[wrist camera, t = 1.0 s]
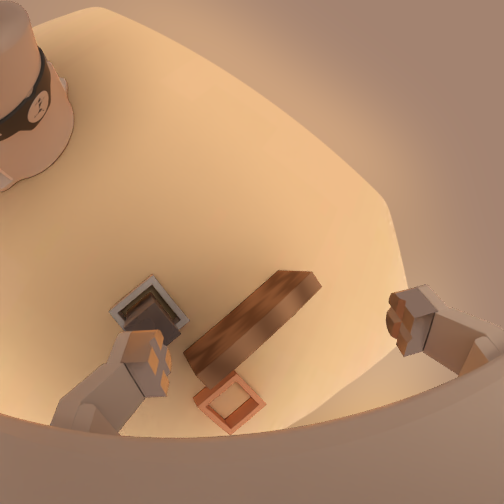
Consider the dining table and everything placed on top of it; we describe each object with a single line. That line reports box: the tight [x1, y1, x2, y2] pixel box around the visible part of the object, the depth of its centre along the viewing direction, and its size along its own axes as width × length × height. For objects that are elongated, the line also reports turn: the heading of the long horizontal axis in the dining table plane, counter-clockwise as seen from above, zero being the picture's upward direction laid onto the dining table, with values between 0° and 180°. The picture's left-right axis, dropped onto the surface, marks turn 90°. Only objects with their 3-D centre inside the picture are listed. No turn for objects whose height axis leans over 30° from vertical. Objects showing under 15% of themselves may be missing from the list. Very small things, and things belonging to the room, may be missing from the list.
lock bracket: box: [193, 370, 266, 435], centre depth 38 cm, size 7×7×3 cm
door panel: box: [184, 270, 322, 390], centre depth 37 cm, size 18×4×9 cm, turn 128°
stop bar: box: [123, 292, 181, 346], centre depth 31 cm, size 4×4×11 cm
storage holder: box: [109, 274, 190, 332], centre depth 35 cm, size 7×7×3 cm
